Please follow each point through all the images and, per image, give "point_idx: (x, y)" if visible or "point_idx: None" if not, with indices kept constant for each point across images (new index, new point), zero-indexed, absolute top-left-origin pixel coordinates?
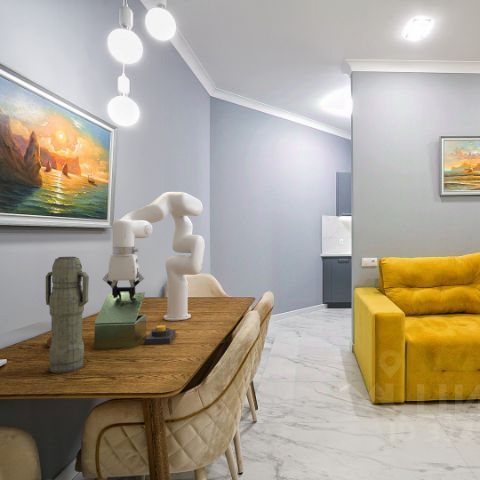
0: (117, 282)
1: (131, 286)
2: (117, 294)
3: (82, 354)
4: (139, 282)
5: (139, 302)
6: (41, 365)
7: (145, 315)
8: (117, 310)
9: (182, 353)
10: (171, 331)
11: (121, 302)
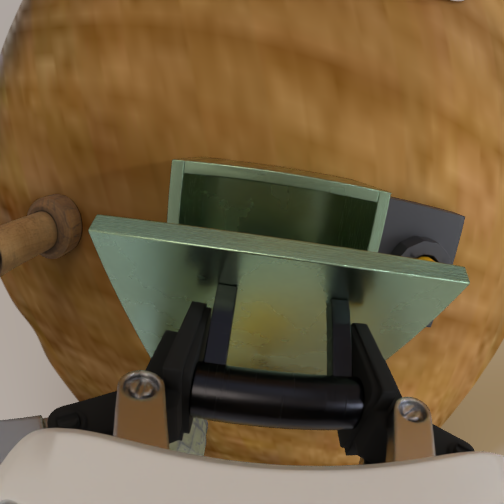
0: (168, 437)
1: (364, 459)
2: (206, 338)
3: (204, 448)
4: (463, 445)
5: (387, 349)
6: (113, 389)
7: (386, 212)
8: (245, 365)
9: (426, 395)
10: (450, 241)
11: (257, 336)
